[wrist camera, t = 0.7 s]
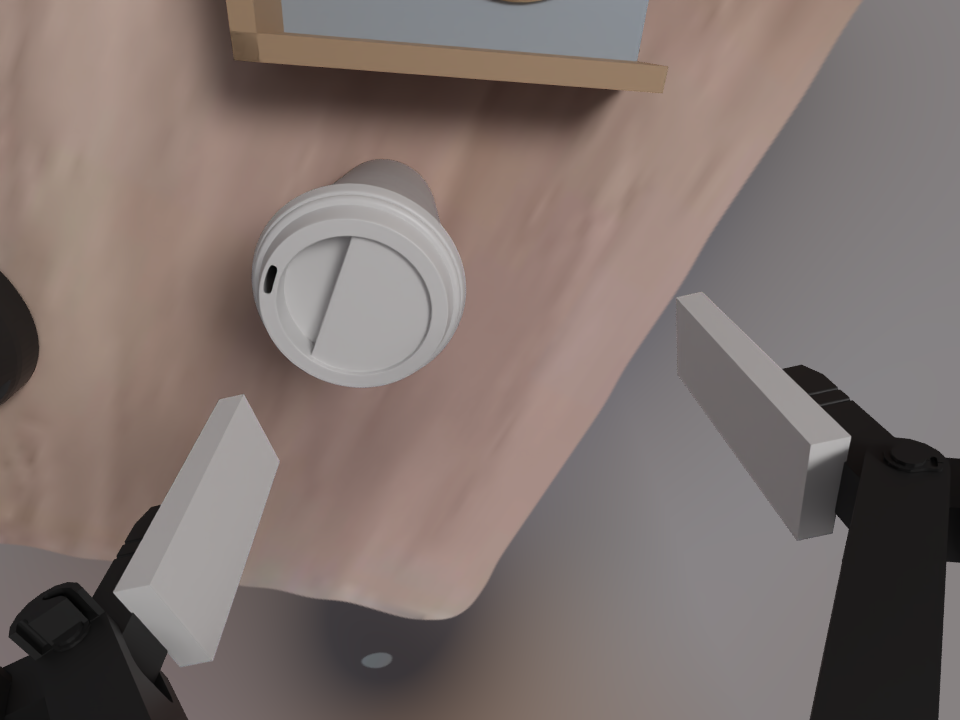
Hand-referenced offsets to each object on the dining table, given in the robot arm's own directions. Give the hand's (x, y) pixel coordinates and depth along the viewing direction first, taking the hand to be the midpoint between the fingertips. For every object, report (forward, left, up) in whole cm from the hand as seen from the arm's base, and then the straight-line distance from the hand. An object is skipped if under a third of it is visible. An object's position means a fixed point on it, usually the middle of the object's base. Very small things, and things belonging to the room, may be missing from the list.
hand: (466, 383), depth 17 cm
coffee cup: (-4, -1, -23) cm, 23 cm away
